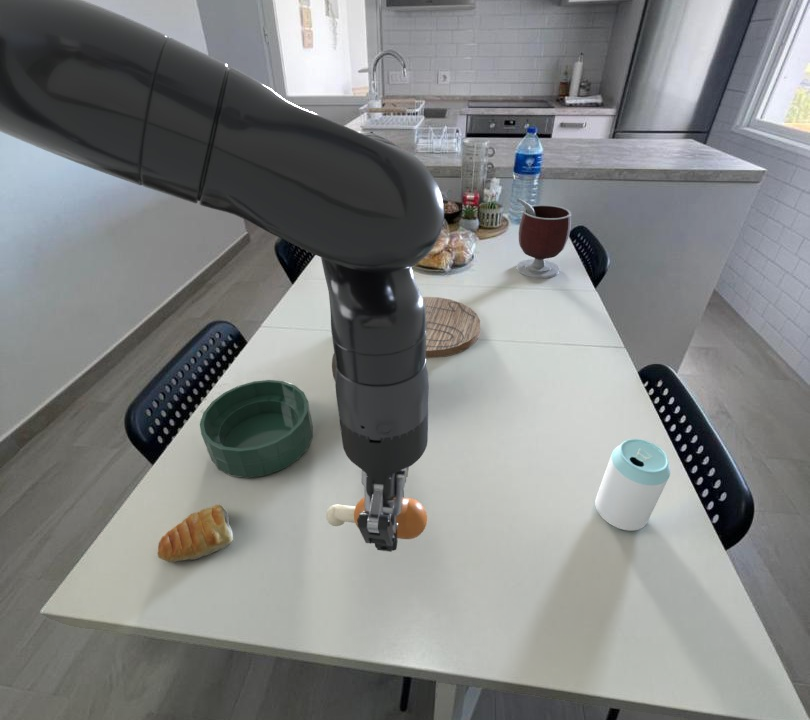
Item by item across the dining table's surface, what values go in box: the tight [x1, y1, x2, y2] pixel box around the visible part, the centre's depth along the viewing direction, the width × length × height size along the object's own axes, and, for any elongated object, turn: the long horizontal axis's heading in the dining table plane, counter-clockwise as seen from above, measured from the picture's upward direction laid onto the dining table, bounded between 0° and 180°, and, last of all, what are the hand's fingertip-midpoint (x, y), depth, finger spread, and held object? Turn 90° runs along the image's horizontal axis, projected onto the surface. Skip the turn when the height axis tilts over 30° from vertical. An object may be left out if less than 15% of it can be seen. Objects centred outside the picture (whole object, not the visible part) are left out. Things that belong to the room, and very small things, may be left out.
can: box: [594, 438, 671, 532], centre depth 61 cm, size 7×7×12 cm
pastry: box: [157, 504, 234, 563], centre depth 61 cm, size 9×7×4 cm
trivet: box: [422, 296, 481, 359], centre depth 106 cm, size 25×25×2 cm
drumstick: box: [325, 496, 428, 540], centre depth 46 cm, size 11×4×4 cm, turn 82°
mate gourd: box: [516, 197, 572, 279], centre depth 128 cm, size 16×14×20 cm
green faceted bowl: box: [199, 379, 314, 479], centre depth 76 cm, size 17×17×6 cm
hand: (390, 526), depth 47 cm, fingers closed on drumstick, 4 cm apart
